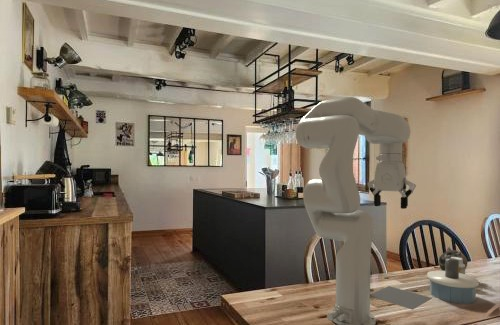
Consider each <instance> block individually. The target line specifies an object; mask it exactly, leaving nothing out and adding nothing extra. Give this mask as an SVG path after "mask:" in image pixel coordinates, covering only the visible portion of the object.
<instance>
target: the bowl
mask: <svg viewBox="0 0 500 325" xmlns="http://www.w3.org/2000/svg"><path fill="white" fill-rule="evenodd" d="M476 288H477V287H475V288H457V287H450V286H445V285H441V284H438V283H435V282H433V281H431V280H429V293H430V295H431V296H432V297H434V298H437V299H438V300H442V301H445V302H449V303H455V304H462V305H463V304H464V305H466V304H473V303H474V302H476V294H477V293H476V290H477V289H476Z"/></svg>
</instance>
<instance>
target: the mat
mask: <svg viewBox="0 0 500 325" xmlns="http://www.w3.org/2000/svg"><path fill="white" fill-rule="evenodd" d="M371 297H372V298H375V299H378V300H381V301H385V302H387V303H391V304H393V305H397V306H400V307H403V308H406V309H409V310H414V309H416V308H418V307H419V306H422V305H423V304H425V303H427V302H429V301H430V300H432V299H433V298H432V297H431V296H426V295H423V294H420V293H419V294H418V293H416V292H412V291H408V290H405V289H402V288H398V287H394V286H390V285H388V286H386V287H383V288H382V289H379V290H376V291H375V292H371V293H370V298H371Z"/></svg>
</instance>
